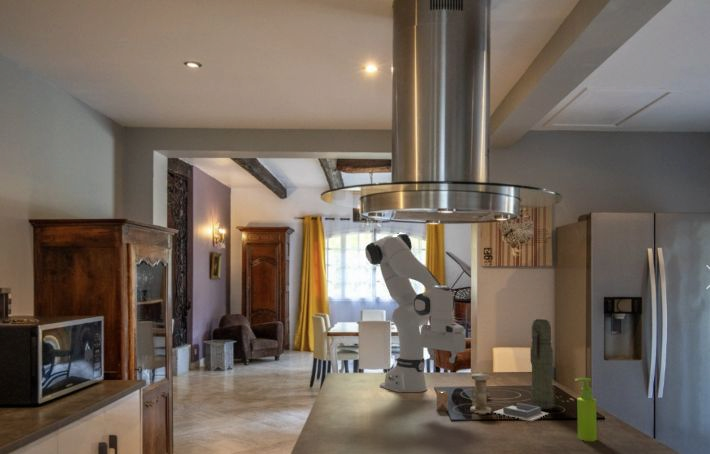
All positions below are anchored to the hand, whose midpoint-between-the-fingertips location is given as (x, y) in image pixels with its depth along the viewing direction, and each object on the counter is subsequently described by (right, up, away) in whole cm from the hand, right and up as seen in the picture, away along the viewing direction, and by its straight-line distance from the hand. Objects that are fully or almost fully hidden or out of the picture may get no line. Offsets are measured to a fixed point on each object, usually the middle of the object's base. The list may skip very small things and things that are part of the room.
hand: (442, 361), depth 235 cm
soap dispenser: (+43, -18, -38) cm, 59 cm away
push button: (+21, -21, +23) cm, 37 cm away
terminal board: (+30, -19, -7) cm, 36 cm away
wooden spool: (+15, -19, -3) cm, 24 cm away
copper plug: (0, -19, -1) cm, 19 cm away
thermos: (+42, -20, +6) cm, 46 cm away
